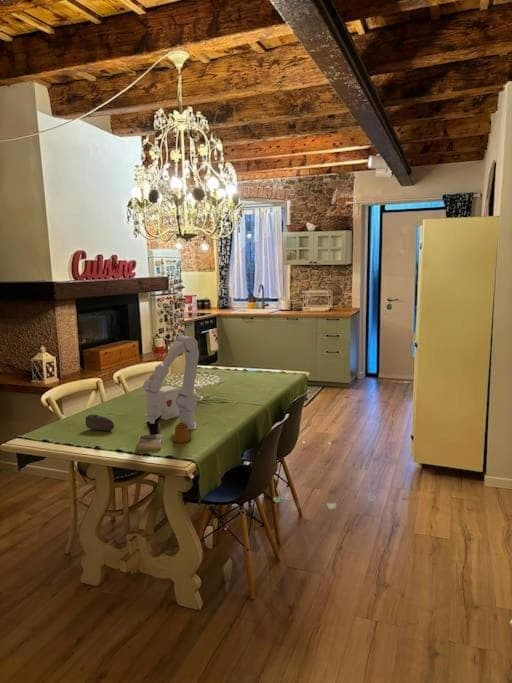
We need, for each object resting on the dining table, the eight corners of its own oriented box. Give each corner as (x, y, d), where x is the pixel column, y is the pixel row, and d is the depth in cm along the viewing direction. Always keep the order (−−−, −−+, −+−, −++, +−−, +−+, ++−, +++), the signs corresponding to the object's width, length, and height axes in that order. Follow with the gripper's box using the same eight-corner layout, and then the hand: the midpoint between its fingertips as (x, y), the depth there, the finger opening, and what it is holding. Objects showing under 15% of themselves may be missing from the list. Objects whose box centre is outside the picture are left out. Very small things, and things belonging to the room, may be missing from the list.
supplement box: (165, 420, 244) (163, 391, 241) (155, 417, 250) (153, 388, 247) (180, 416, 250) (178, 387, 248) (169, 412, 256) (167, 385, 254)
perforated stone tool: (117, 429, 232) (116, 415, 231) (110, 433, 227) (109, 419, 226) (92, 426, 238) (91, 412, 237) (84, 430, 233) (83, 416, 232)
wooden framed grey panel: (140, 441, 216) (139, 434, 216) (163, 440, 217) (162, 433, 216) (136, 450, 206) (136, 443, 206) (160, 449, 207) (160, 442, 207)
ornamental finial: (191, 442, 214) (174, 444, 212) (189, 436, 221) (173, 438, 219) (190, 425, 213) (173, 426, 211) (189, 419, 220) (172, 421, 218)
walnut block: (151, 435, 224) (150, 422, 223) (160, 434, 224) (159, 422, 223) (149, 438, 220) (149, 425, 219) (159, 438, 220) (158, 425, 219)
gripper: (146, 400, 226) (148, 428, 229) (142, 410, 212) (144, 439, 214) (161, 399, 227) (163, 427, 229) (158, 409, 213) (160, 438, 215)
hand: (155, 433), depth 222 cm, fingers open, 7 cm apart
